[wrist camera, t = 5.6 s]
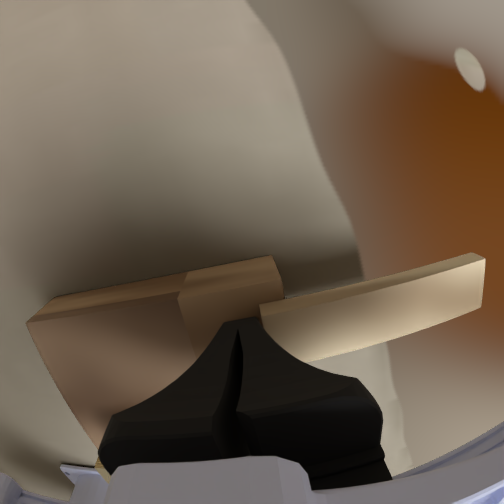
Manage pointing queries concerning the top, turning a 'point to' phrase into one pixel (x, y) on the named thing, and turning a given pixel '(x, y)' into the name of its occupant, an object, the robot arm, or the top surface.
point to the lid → (113, 356)
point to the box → (195, 295)
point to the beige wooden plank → (375, 308)
